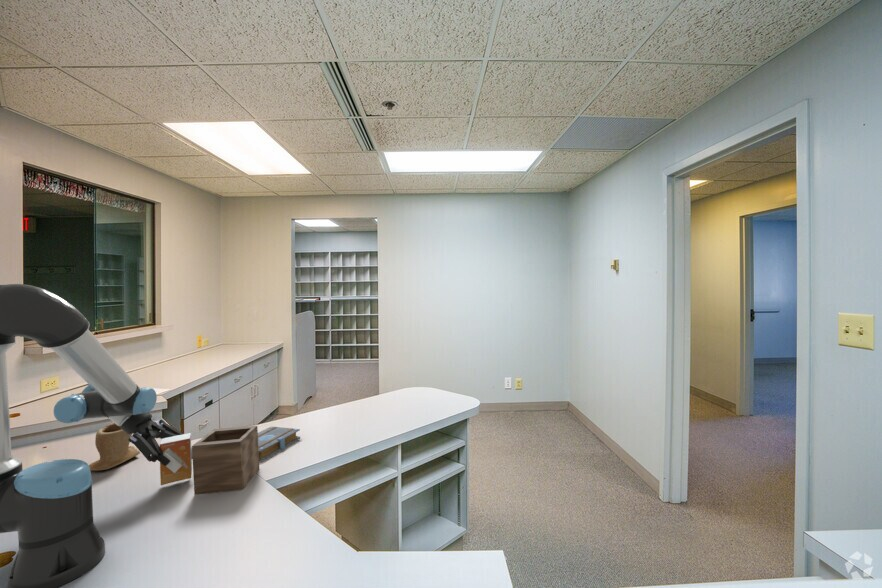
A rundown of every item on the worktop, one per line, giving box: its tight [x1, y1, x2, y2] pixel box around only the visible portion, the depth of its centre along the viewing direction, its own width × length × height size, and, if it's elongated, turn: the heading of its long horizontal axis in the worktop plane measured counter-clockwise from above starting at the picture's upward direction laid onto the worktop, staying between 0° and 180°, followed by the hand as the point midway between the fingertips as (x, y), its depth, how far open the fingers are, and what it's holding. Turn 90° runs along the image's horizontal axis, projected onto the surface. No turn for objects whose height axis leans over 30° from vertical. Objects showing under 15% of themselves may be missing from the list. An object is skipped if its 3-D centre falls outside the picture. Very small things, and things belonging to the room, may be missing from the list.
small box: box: [159, 432, 193, 486], centre depth 119 cm, size 8×6×13 cm
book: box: [258, 426, 301, 462], centre depth 146 cm, size 21×16×5 cm
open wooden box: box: [191, 425, 260, 496], centre depth 120 cm, size 14×14×15 cm
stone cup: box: [88, 422, 141, 472], centre depth 137 cm, size 15×12×15 cm
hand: (187, 462), depth 119 cm, fingers closed on small box, 9 cm apart
